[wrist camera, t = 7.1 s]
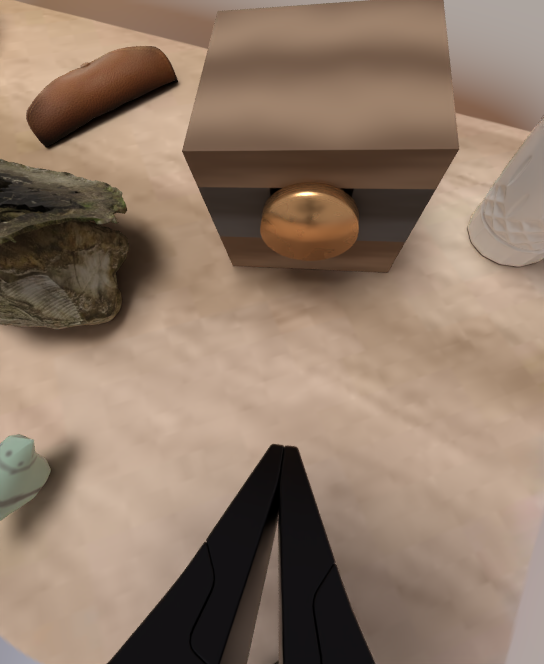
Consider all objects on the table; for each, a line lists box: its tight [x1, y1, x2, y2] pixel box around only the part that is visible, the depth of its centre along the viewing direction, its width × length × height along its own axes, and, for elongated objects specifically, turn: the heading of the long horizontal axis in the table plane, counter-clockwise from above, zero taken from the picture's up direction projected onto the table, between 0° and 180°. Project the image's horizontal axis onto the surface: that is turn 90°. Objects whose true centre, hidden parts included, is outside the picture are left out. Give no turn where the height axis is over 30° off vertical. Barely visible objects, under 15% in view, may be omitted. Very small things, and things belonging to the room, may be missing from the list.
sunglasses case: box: [26, 46, 178, 147], centre depth 35 cm, size 18×7×7 cm
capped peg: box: [260, 182, 359, 261], centre depth 21 cm, size 12×6×6 cm, turn 174°
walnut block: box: [182, 0, 459, 272], centre depth 22 cm, size 12×14×12 cm
